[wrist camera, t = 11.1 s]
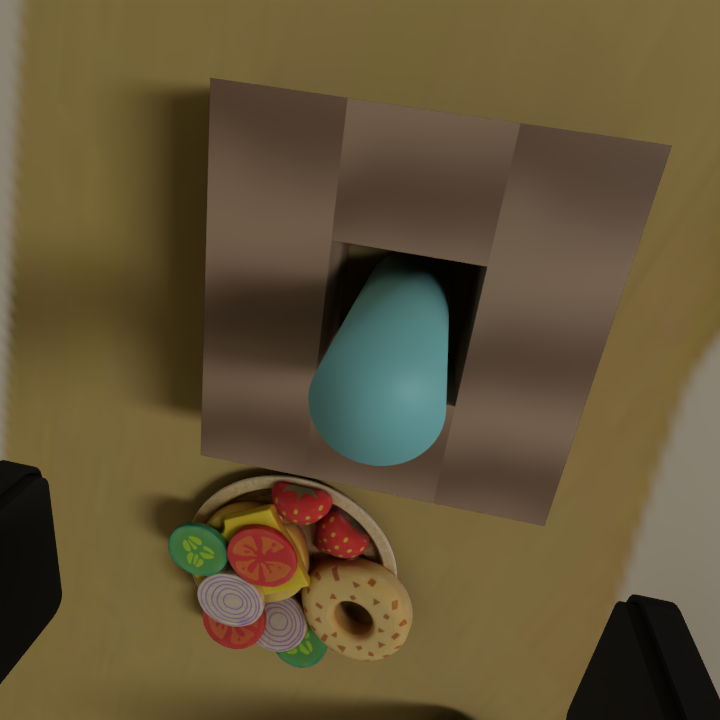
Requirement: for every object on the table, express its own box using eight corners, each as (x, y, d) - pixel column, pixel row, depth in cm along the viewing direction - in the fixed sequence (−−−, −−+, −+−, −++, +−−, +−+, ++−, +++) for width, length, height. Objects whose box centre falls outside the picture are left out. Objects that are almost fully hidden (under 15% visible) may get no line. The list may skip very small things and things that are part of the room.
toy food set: (432, 617, 35) (430, 663, 32) (249, 651, 39) (233, 695, 36) (349, 439, 31) (338, 472, 28) (154, 496, 35) (126, 530, 32)
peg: (372, 244, 27) (315, 329, 16) (457, 259, 26) (458, 355, 15) (361, 324, 28) (301, 451, 17) (440, 338, 28) (431, 478, 17)
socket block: (255, 86, 25) (210, 77, 20) (629, 140, 23) (671, 145, 19) (237, 406, 31) (200, 455, 27) (530, 464, 30) (544, 525, 25)
